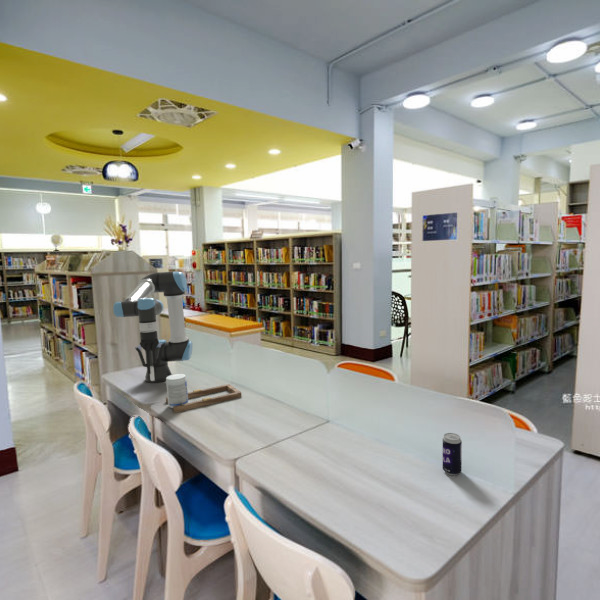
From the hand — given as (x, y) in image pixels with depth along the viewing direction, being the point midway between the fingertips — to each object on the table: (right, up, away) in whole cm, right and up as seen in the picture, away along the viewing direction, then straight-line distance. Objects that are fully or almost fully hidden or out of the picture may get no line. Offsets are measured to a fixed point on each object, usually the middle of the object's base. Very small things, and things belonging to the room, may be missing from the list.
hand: (152, 380), depth 187 cm
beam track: (+20, -13, +14) cm, 28 cm away
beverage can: (+119, -18, -60) cm, 134 cm away
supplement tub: (+10, -14, +8) cm, 19 cm away
